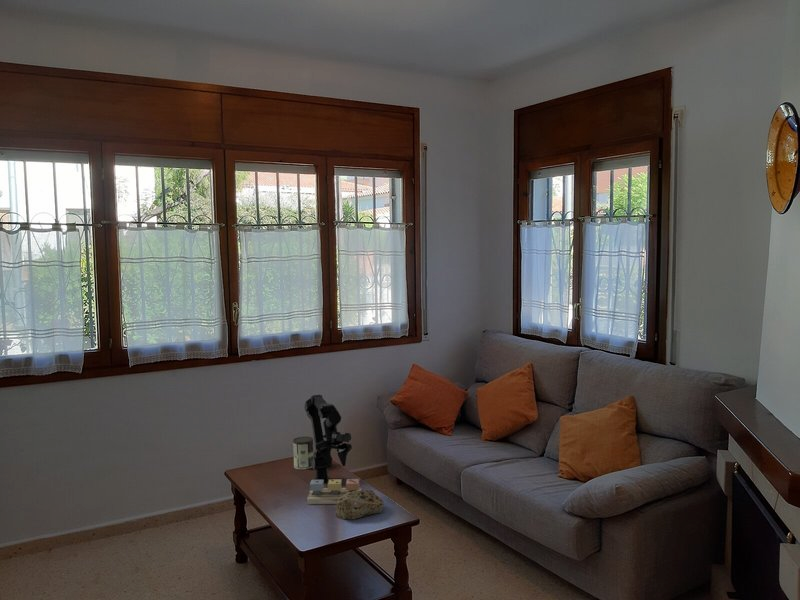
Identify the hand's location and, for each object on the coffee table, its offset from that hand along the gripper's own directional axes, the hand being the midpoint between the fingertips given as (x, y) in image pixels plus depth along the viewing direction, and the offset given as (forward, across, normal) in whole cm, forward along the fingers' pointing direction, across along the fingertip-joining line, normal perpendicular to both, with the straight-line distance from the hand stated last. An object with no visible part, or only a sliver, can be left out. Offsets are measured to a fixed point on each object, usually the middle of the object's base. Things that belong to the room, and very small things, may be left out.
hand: (337, 465), depth 287 cm
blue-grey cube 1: (+8, +1, +15) cm, 17 cm away
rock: (+23, +1, -6) cm, 24 cm away
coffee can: (-15, +27, +43) cm, 53 cm away
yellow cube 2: (+10, +5, +8) cm, 14 cm away
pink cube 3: (+12, +10, +2) cm, 15 cm away
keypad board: (+12, +6, +9) cm, 16 cm away
